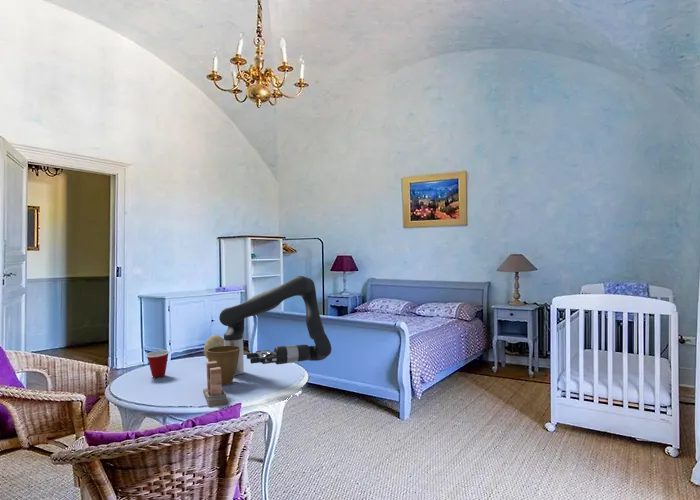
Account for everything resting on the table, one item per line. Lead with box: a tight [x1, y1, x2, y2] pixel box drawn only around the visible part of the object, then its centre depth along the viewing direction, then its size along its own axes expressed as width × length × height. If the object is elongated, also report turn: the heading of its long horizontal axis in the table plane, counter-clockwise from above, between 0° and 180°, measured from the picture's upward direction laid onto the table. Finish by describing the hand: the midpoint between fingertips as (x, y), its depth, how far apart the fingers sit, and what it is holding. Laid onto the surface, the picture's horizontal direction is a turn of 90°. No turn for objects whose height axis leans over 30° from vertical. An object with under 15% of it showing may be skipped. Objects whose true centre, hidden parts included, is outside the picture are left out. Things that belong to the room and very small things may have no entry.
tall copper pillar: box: [210, 367, 223, 396], centre depth 187 cm, size 4×4×12 cm
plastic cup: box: [145, 349, 170, 378], centre depth 230 cm, size 11×11×12 cm
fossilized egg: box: [203, 334, 224, 360], centre depth 257 cm, size 13×13×15 cm
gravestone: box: [202, 361, 228, 408], centre depth 192 cm, size 21×7×14 cm, turn 23°
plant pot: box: [207, 346, 240, 386], centre depth 214 cm, size 15×15×16 cm
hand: (248, 358), depth 194 cm, fingers open, 8 cm apart
